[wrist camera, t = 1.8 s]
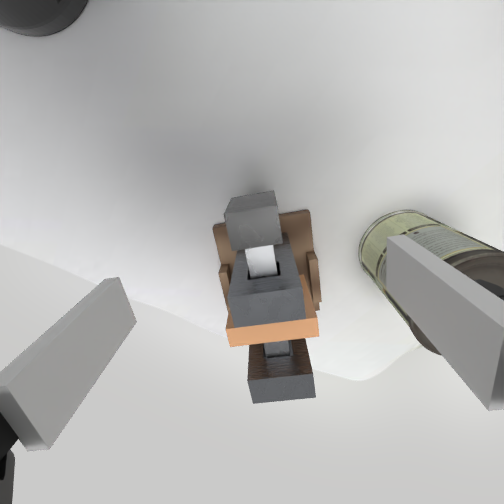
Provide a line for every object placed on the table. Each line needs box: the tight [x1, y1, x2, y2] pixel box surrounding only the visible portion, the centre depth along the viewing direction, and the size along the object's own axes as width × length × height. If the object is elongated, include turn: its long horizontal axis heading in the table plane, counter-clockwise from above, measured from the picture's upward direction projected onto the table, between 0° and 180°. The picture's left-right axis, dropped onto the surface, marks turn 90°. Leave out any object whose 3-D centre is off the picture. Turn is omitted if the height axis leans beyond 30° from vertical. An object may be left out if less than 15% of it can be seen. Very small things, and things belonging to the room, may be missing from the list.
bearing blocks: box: [227, 232, 316, 403], centre depth 30 cm, size 12×6×14 cm, turn 10°
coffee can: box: [359, 210, 504, 355], centre depth 29 cm, size 10×10×14 cm
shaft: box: [224, 191, 291, 358], centre depth 27 cm, size 20×4×6 cm, turn 10°
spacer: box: [226, 274, 319, 347], centre depth 28 cm, size 2×8×8 cm, turn 100°
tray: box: [213, 210, 322, 314], centre depth 36 cm, size 14×12×4 cm
